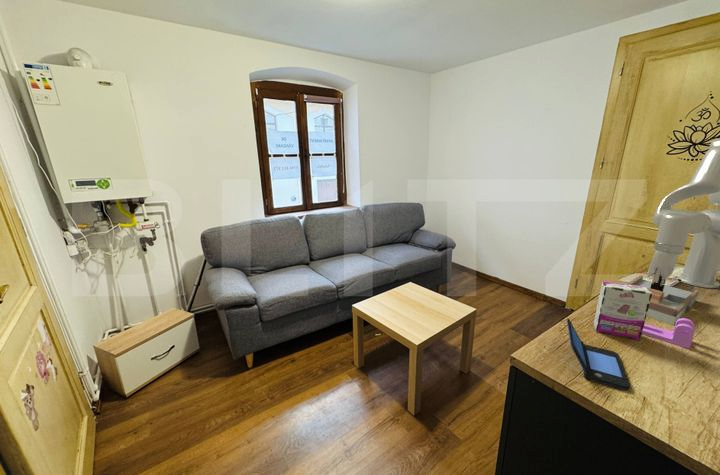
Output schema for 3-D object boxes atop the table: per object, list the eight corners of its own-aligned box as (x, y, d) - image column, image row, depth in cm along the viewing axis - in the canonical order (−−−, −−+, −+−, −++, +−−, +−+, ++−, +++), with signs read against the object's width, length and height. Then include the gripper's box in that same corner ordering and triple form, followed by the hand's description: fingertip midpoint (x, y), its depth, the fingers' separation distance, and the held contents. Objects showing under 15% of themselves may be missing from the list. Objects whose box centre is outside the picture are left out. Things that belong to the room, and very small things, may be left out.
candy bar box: (634, 332, 94) (647, 286, 90) (640, 341, 90) (654, 293, 85) (591, 324, 99) (601, 280, 95) (595, 331, 95) (605, 286, 90)
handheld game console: (630, 393, 72) (639, 362, 69) (565, 374, 78) (571, 345, 76) (616, 355, 85) (624, 328, 82) (561, 342, 91) (566, 316, 89)
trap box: (637, 284, 125) (640, 273, 124) (695, 300, 111) (700, 287, 110) (610, 303, 111) (613, 290, 110) (673, 324, 97) (677, 310, 96)
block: (644, 294, 111) (646, 287, 110) (662, 299, 107) (664, 292, 106) (639, 298, 109) (641, 290, 108) (657, 303, 105) (660, 296, 104)
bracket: (689, 340, 90) (696, 321, 88) (689, 349, 86) (696, 328, 84) (632, 323, 99) (637, 305, 97) (630, 330, 95) (635, 312, 93)
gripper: (661, 241, 112) (649, 284, 117) (647, 249, 104) (635, 295, 109) (689, 246, 105) (675, 292, 111) (677, 254, 98) (662, 303, 103)
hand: (655, 293), depth 110 cm, fingers closed
